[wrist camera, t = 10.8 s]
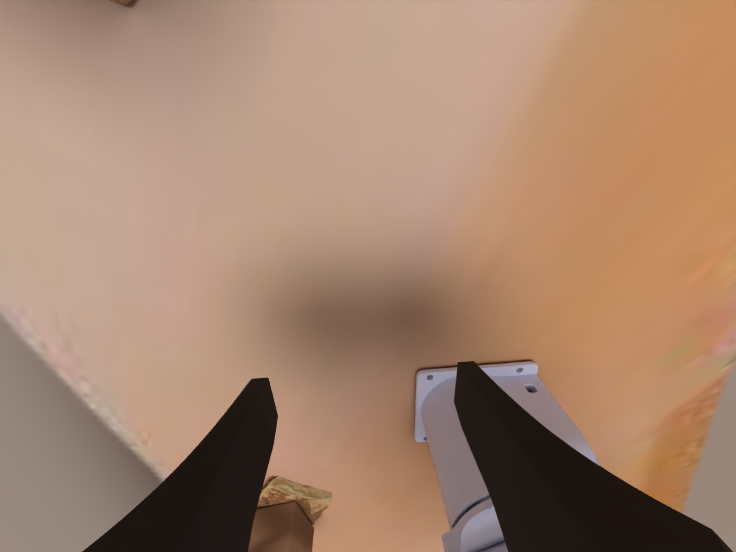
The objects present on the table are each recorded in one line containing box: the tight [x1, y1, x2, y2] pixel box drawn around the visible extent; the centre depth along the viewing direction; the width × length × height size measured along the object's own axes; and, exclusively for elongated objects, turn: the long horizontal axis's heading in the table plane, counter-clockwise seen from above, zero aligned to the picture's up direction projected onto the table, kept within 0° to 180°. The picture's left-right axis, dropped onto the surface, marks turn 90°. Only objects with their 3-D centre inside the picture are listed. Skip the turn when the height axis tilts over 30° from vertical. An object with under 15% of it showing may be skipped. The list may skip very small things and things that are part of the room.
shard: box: [256, 477, 331, 525], centre depth 31 cm, size 11×8×2 cm
